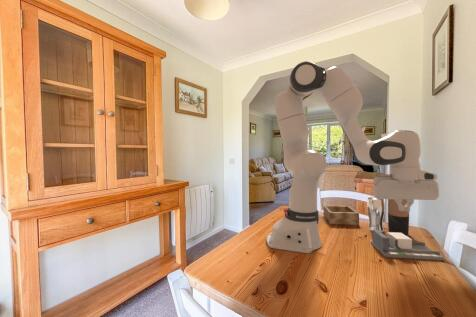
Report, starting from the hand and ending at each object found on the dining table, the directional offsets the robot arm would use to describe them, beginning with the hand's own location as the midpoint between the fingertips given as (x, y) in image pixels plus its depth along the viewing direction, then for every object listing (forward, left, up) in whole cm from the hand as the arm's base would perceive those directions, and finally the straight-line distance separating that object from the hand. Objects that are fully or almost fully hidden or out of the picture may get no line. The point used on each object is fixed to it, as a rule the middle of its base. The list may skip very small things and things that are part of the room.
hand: (404, 210), depth 76 cm
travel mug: (+8, +18, -15) cm, 25 cm away
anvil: (-8, 0, -14) cm, 16 cm away
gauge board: (0, 0, -15) cm, 15 cm away
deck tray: (-12, +34, -15) cm, 39 cm away
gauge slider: (-2, -1, -14) cm, 14 cm away
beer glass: (0, +21, -15) cm, 26 cm away
